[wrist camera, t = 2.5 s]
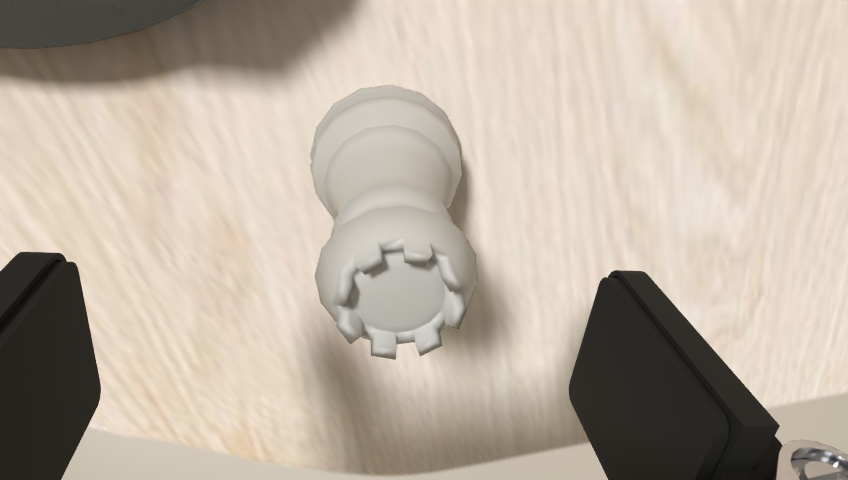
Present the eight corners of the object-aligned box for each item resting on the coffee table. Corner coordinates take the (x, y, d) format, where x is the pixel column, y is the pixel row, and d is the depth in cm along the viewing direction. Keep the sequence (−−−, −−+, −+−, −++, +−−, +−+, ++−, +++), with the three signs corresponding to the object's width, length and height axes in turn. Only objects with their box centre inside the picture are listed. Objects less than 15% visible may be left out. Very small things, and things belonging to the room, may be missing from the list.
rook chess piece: (416, 238, 19) (446, 420, 12) (289, 185, 18) (242, 355, 11) (484, 121, 18) (564, 257, 11) (349, 52, 16) (338, 156, 9)
